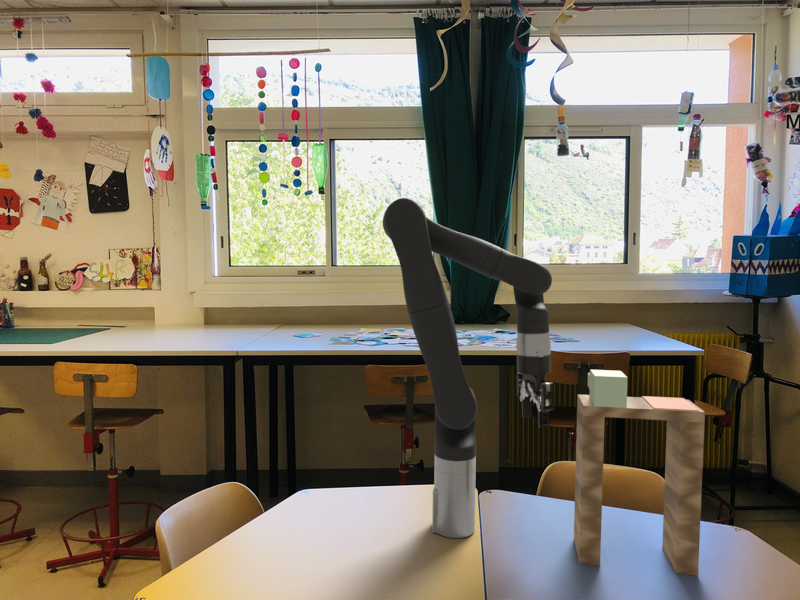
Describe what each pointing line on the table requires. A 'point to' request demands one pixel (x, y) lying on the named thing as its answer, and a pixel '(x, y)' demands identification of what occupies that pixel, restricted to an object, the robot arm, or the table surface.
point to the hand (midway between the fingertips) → (535, 422)
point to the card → (669, 403)
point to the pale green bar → (608, 388)
